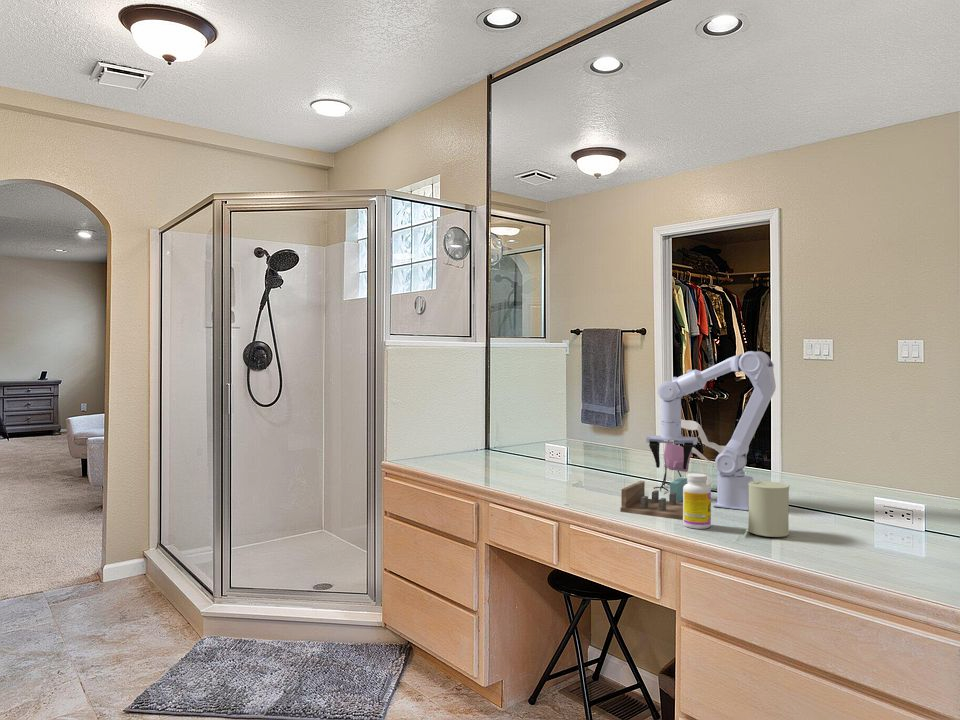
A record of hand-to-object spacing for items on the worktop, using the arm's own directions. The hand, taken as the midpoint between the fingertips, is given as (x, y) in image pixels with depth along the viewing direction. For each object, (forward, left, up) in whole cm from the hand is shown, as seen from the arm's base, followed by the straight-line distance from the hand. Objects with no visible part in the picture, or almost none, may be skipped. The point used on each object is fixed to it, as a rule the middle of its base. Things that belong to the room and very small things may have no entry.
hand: (671, 467), depth 203 cm
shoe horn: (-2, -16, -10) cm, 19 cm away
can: (-31, +24, -10) cm, 40 cm away
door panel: (-2, 0, -10) cm, 10 cm away
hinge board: (-2, +15, -9) cm, 18 cm away
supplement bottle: (-15, +28, -10) cm, 33 cm away
